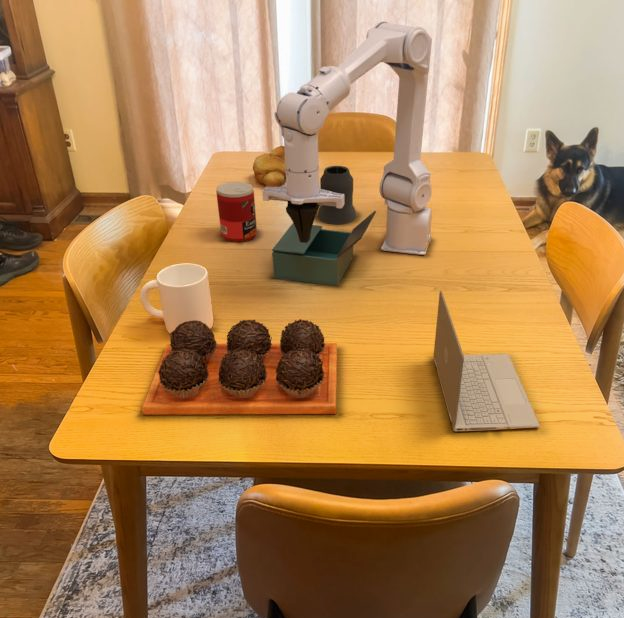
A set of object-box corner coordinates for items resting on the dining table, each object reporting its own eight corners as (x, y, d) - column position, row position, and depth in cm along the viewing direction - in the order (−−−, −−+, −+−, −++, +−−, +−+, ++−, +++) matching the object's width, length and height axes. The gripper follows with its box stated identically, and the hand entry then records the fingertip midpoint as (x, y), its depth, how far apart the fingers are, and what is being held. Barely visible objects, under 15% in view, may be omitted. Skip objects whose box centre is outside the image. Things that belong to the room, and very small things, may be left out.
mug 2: (355, 224, 154) (356, 177, 147) (316, 223, 154) (314, 176, 148) (357, 204, 164) (357, 159, 157) (320, 204, 164) (319, 158, 158)
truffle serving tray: (336, 350, 111) (336, 307, 107) (336, 415, 98) (335, 368, 93) (167, 351, 111) (159, 307, 106) (143, 415, 97) (133, 368, 93)
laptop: (539, 430, 95) (556, 354, 88) (452, 433, 95) (461, 357, 87) (508, 357, 110) (520, 287, 103) (432, 359, 109) (438, 289, 102)
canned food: (251, 244, 145) (246, 195, 139) (215, 241, 146) (210, 192, 140) (261, 229, 151) (258, 182, 145) (228, 226, 153) (223, 180, 146)
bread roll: (288, 190, 171) (286, 159, 166) (250, 190, 171) (247, 159, 166) (291, 172, 182) (290, 143, 177) (255, 172, 181) (253, 143, 177)
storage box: (353, 256, 140) (353, 229, 137) (337, 285, 130) (337, 256, 126) (293, 250, 143) (292, 222, 139) (273, 278, 132) (271, 249, 129)
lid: (353, 229, 137) (354, 230, 137) (336, 256, 126) (338, 257, 126) (375, 210, 133) (376, 211, 133) (360, 237, 123) (361, 238, 123)
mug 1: (138, 337, 114) (127, 284, 109) (153, 312, 121) (144, 261, 115) (207, 340, 114) (199, 287, 108) (219, 315, 120) (212, 264, 115)
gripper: (253, 171, 113) (259, 245, 121) (336, 179, 110) (337, 254, 118) (268, 158, 119) (273, 229, 127) (347, 165, 116) (347, 237, 124)
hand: (305, 240), depth 123 cm, fingers closed
